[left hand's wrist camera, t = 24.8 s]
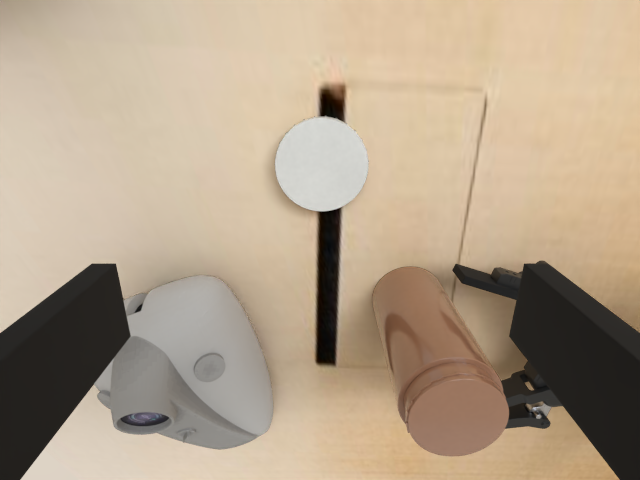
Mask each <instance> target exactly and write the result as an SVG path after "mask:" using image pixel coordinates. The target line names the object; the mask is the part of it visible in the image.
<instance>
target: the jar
mask: <svg viewBox="0 0 640 480" xmlns="http://www.w3.org/2000/svg"><path fill="white" fill-rule="evenodd" d="M372 304H373V309H374V313H375V317H376V321H377V325H378V329H379V333H380V337H381V341H382V345H383V350H384V354H385V358H386V362H387V366H388V370H389V374H390V378H391V382H392V386H393V390H394V394H395V399H396V403H397V407H398V411H399V414H400V416H401V418H402V420H403V421H404V423H405V424H406V426H407V431H408V433H410V434H411V436H412V438H413V439H414V440H415V442H416V443H417V444H418V445H419V446H421V447H422V448H423V449H425V450H427V451H429V452H432V453H434V454H438V455H443V456H462V455H467V454H471V453H474V452H477V451H479V450H482V449H484V448H485V447H487V446H489V445H490V444H491V443H493V442H494V441H495V440H496V439H497V438H498V437H499V436H500V435H501V434H502V432H503V431H504V429H505V427H506V425H507V422H508V418H509V407H508V403H507V401H506V399H505V398H506V397H505V395H504V393H503V386H502V383H501V380H500V378H499V377H498V375H497V373H496V372H495V370H494V369H493V367H492V365H491V364H490V362H489V361H488V359H487V357H486V356H485V354H484V353H483V351H482V349H481V348H480V346H479V345H478V343H477V341H476V340H475V338H474V337H473V335H472V333H471V332H470V330H469V329H468V327H467V325H466V324H465V322H464V321H463V319H462V317H461V316H460V314H459V313H458V311H457V309H456V308H455V306H454V305H453V303H452V301H451V300H450V298H449V297H448V295H447V293H446V292H445V290H444V289H443V287H442V285H441V284H440V282H439V281H438V279H437V278H436V277H435V276H434V275H433V274H432V273H430V272H429V271H427V270H425V269H422V268H418V267H402V268H398V269H395V270H393V271H391V272H389V273H388V274H386V275H385V276H384V277H383V278H382V279H381V280H380V281H379V282H378V284H377V285H376V287H375V289H374V292H373V297H372Z"/></svg>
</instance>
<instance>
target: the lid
mask: <svg viewBox="0 0 640 480" xmlns="http://www.w3.org/2000/svg"><path fill="white" fill-rule="evenodd" d="M362 141H363V140H362V139H361V138H360V137H359V136H358V134H357V133H356V131H355V130H353V129H352V128H351V127H350V126H348V124H347V123H344V122H342V121H340V120H338V119H337V118H336V119H335V118H331V117H326V116H325V117H315V116H314V117H312V118H309V119H306V120H305V119H304V120H303V121H301V122H300V123H298V124H296V125H294V126H293V128H291V129H290V130H289V132H286V135H285V136H284V138H283V139H282V141H281V142H280V143H279V144H280V145H279V147H278V150H277V152H276V159H275V171H276V176H277V179H278V182H279V184H280V187H281V188H282V190H283V191H284V193H285V194H286V195H287V196H288V197H289V198H290V199H291V200H292V201H293V202H294V203H296V204H297V205H299V206H301V207H303V208H306V209H309V210H313V211H331V210H334V209H338V208H340V207H342V206H344V205H346V204H347V203H349V202H350V201H352V200H353V199H354V198H355V197H356V196H357V194H358V193H359V192H360V190H361V189H362V187H363V185H364V183H365V181H366V178H367V173H368V162H369V161H368V156H367V150H366V148H365V146H364V144H363V142H362Z"/></svg>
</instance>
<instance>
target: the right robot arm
mask: <svg viewBox="0 0 640 480" xmlns="http://www.w3.org/2000/svg"><path fill="white" fill-rule="evenodd" d="M536 264H548V263H546V262H545V261H539V262H537V263H536ZM453 272H454V273H455V274H456V276H457V277H458V278H459V280H460V281H461V283H463V284H466V285H470V286H473V287H476V288H479V289H483V290H486V291H489V292H492V293H496V294H499V295H502V296H506V297H509V298H512V299H515V300H517V296H518V291H519V287H520V282H521V277H522V272H523V271H522V272H519V273H516V272H513V271H509V270H506V269H503V268H494V270H493V272H492V274H491V275H490V274H487V273H484V272H481V271H478V270H474V269H471V268H468V267H465V266H462V265H458V264H455V266H454V268H453ZM524 369H525V370H523V371H519V372H516V373H513V374H512V376H511V378H509V379H506V380H502V381H501V383H502V386H503V393H504V395H505V397H506V398H505V399H506V401H507V403H508V407H509V418H508V422H507V425H506V427H505V429H507V428H516V427H525V426H530V427H536V428H542V429H545V428H547V427H549V426H550V421H549V420H548V418H547V415H548V413H549V411H550V409H551V407H557V406H563V405H562V404H561V403H560V401H559V400H558V399H557V398H556V396H555V395H554V394H553V392H552V391H551V390H550V388H549V387H548V386H547V385H546V383H545V382H544V381H543V379H542V378H541V377H540V375H539V374H538V373H537V372H536V370H535V369H534V368H533V366H532V365H531V364H530V363H529V361H528V362H527V363H526V365H525V366H524ZM528 381H529V382H530V384H531V385H532V387H533V388H534V390H533V391H531V390H529V389H528V388H527V386H526V385H525V382H528Z"/></svg>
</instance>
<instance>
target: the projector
mask: <svg viewBox="0 0 640 480" xmlns="http://www.w3.org/2000/svg"><path fill="white" fill-rule="evenodd" d="M123 301H124V306H125V311H126V316H127V320H128V325H129V330H130V335H131V337H130V338H129V339H128V340H127V342H126V343H125V344H124V346H123V347H122V348H121V350H120V351H119V352H118V353H117V355H116V356H115V357H114V359H113V360H112V361H111V363H110V364H109V365H108V366H107V368H106V369H105V370H104V372H103V373H102V374H101V375H100V377H99V378H98V379H97V381H96V382H95V383H94V385H95V386H96V387H97V389H98V390H99V391H100V392H99V393H98V395H97V397H98V399H99V400H100V402H101V403H102V404H104V405H105V406H106V407H107V408H109V409H111V413H112V419H113V425H114V427H115V428H116V429H117V430H119V431H121V432H125V433H129V434H141V435H143V434H153V433H159V434H161V435H164V436H167V437H170V438H173V439H176V440H179V441H182V442H186V443H189V444H193V445H197V446H202V447H207V448H212V449H228V448H233V447H237V446H240V445H243V444H245V443H248V442H250V441H252V440H254V439H255V438H257V437H258V436H261V435H262V434H264V433H265V432H267V430H268V429H269V427H270V425H271V421H272V417H273V394H272V387H271V381H270V376H269V372H268V368H267V364H266V361H265V358H264V355H263V352H262V349H261V346H260V344H259V341H258V339H257V336H256V334H255V332H254V329H253V327H252V325H251V323H250V321H249V319H248V317H247V315H246V313H245V311H244V309H243V308H242V306H241V304H240V302H239V301H238V299H237V298H236V296H235V295H234V293H233V292H232V290H231V289H230V288H229V287H228V285H227V284H225V283H224V282H223V281H222V280H220V279H218V278H216V277H213V276H207V275H196V276H191V277H186V278H183V279H179V280H176V281H173V282H170V283H167V284H164V285H161V286H159V287H156V288H154V289H152V290H151V291H150V292H149V293H148V294H145V293H141V294H137V295H135V296H132V297H130V298H127V299H125V300H123Z"/></svg>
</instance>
